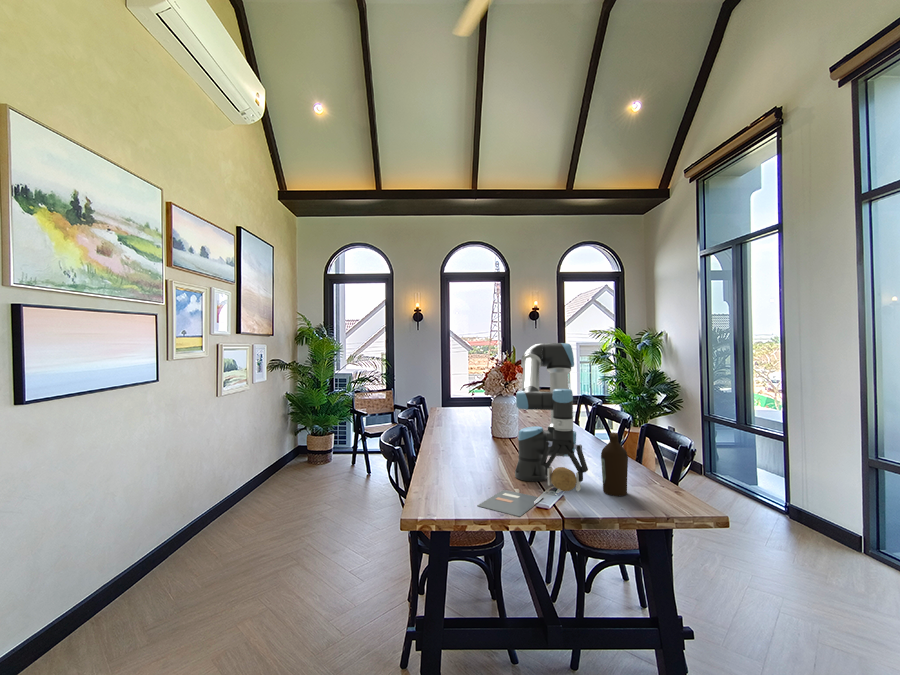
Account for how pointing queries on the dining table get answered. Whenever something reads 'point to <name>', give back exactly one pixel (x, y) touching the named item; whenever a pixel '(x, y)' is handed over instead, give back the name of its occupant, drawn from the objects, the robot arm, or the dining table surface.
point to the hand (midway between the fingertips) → (563, 487)
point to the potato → (563, 479)
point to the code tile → (509, 503)
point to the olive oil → (614, 467)
